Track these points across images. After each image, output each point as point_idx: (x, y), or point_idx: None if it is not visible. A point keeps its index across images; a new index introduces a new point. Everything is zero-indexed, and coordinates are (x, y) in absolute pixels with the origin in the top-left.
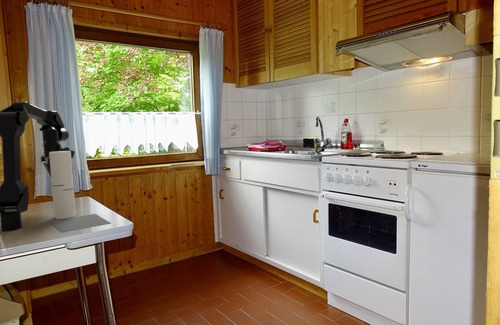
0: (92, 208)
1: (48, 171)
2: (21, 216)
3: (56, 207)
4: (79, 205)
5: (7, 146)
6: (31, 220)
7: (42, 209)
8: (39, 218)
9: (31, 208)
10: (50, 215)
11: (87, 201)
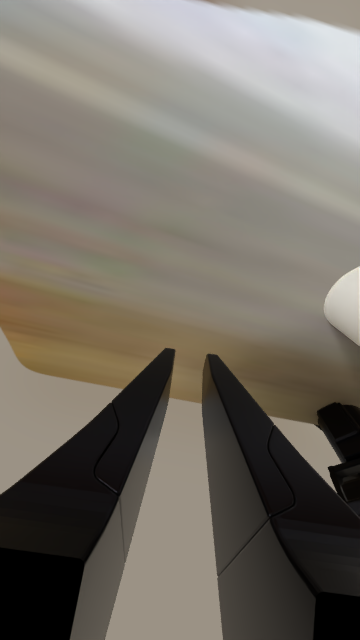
0: (350, 128)
1: (147, 474)
2: (352, 424)
3: None
4: (183, 151)
5: None
6: (296, 375)
7: (139, 308)
8: (293, 357)
9: (85, 325)
10: (284, 324)
11: (76, 32)
